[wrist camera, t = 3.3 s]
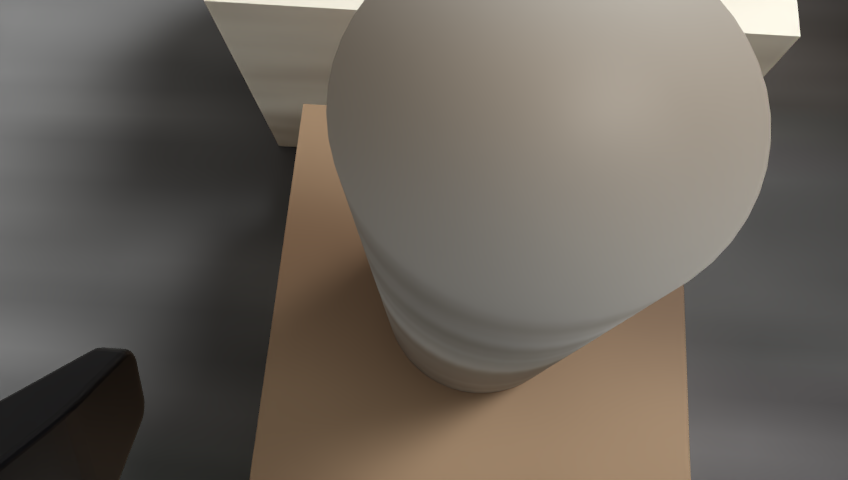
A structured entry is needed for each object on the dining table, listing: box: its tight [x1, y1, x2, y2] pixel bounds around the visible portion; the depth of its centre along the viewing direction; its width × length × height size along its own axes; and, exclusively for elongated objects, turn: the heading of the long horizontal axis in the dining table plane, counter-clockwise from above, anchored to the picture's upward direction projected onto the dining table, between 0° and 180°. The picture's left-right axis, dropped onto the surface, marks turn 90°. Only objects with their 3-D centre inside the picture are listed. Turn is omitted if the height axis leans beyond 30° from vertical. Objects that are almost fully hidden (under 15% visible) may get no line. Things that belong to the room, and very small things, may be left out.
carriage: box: [249, 0, 771, 480], centre depth 10 cm, size 8×8×10 cm
